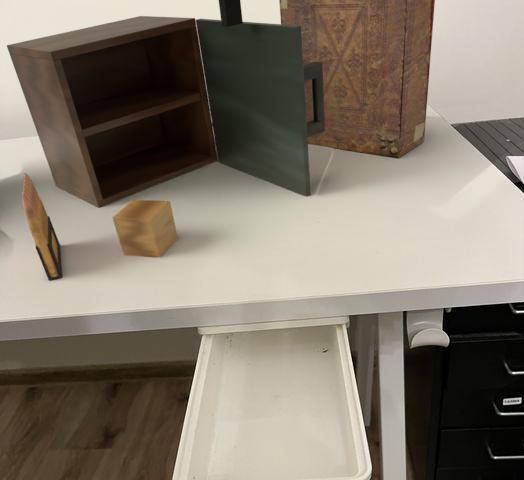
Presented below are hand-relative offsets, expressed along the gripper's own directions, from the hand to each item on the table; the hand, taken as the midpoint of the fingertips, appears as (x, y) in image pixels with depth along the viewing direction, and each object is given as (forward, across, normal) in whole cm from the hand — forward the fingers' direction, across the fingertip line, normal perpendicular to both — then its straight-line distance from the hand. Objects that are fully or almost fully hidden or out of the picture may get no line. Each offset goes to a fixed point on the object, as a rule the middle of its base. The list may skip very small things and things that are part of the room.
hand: (232, 24), depth 80 cm
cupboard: (+25, +24, +10) cm, 36 cm away
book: (+25, +2, -27) cm, 36 cm away
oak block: (+25, -7, +23) cm, 34 cm away
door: (+25, +2, -7) cm, 26 cm away
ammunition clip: (+25, 0, +36) cm, 44 cm away
